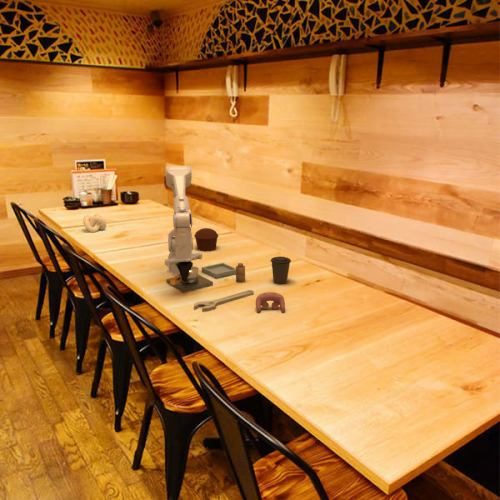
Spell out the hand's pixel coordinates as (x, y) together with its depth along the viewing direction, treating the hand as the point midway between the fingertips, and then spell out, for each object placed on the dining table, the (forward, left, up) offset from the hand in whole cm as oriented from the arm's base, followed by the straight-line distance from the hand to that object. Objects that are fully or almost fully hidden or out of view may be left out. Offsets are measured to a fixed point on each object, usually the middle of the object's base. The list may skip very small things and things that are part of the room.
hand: (184, 280), depth 173 cm
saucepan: (-4, +2, -3) cm, 5 cm away
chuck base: (-6, +6, -5) cm, 10 cm away
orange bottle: (+3, +24, -5) cm, 25 cm away
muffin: (-43, +38, -5) cm, 58 cm away
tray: (-10, +23, -5) cm, 26 cm away
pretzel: (-110, +8, -5) cm, 111 cm away
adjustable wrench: (+17, +7, -5) cm, 19 cm away
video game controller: (+31, +15, -5) cm, 35 cm away
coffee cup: (+13, +36, -5) cm, 38 cm away
